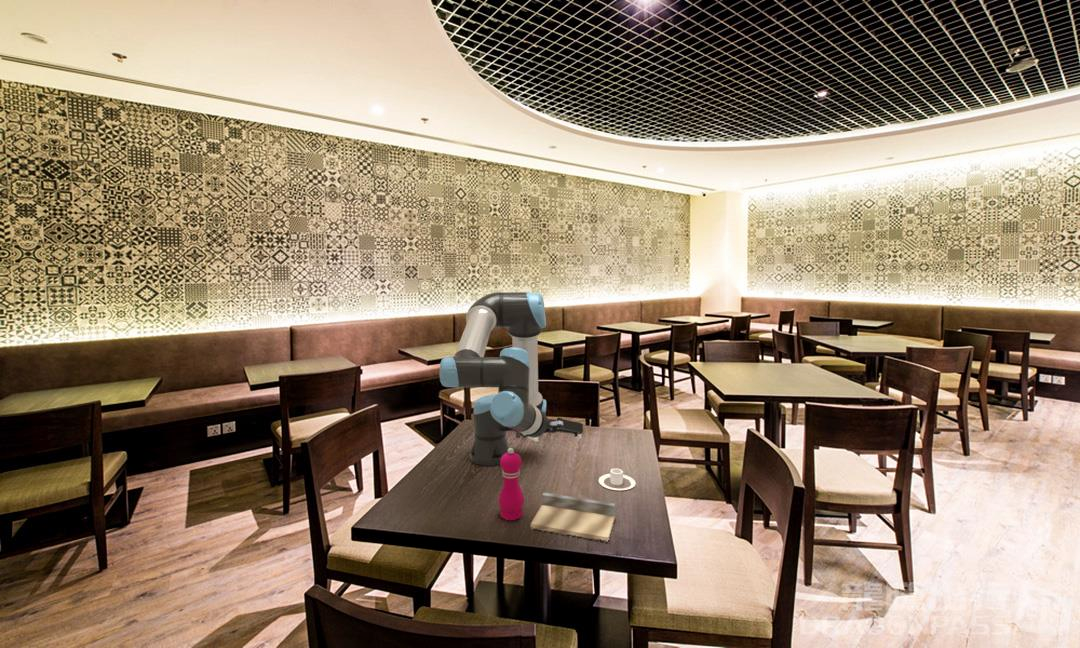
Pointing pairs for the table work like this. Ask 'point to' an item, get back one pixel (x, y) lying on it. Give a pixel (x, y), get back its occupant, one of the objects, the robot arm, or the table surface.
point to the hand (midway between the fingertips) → (558, 435)
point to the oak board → (575, 516)
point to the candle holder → (616, 479)
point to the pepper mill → (511, 486)
